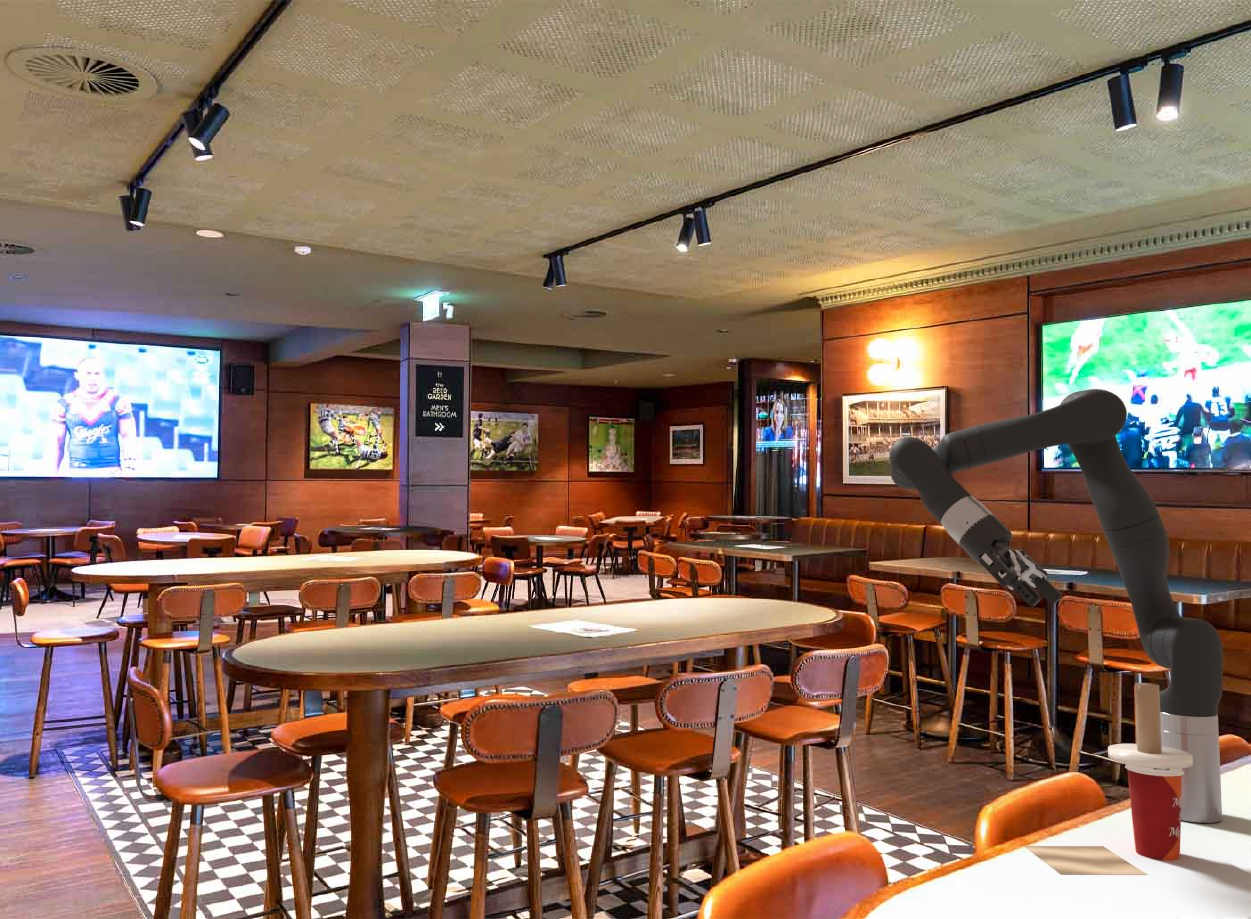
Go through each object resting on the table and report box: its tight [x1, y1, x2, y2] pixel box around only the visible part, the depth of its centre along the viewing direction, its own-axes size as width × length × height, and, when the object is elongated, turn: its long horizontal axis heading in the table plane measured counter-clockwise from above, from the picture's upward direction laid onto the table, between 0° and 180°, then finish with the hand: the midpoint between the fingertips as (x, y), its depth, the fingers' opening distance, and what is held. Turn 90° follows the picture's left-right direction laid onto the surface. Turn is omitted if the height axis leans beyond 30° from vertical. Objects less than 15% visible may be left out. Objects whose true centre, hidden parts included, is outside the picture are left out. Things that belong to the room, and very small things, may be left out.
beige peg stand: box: [1107, 682, 1193, 769], centre depth 142 cm, size 11×11×11 cm
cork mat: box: [1023, 845, 1149, 876], centre depth 137 cm, size 12×12×1 cm
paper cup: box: [1124, 764, 1184, 862], centre depth 140 cm, size 8×8×14 cm
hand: (1047, 601), depth 151 cm, fingers open, 8 cm apart
